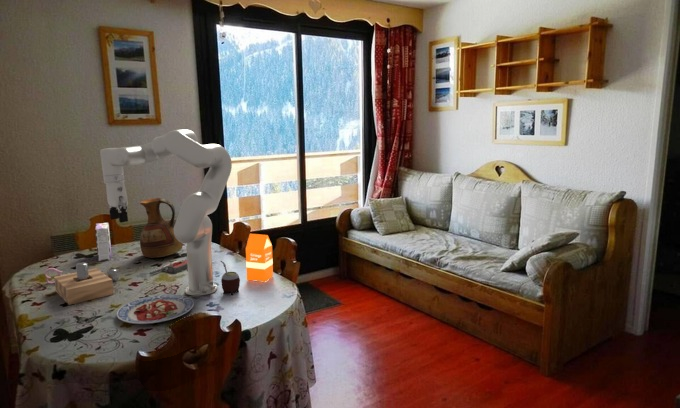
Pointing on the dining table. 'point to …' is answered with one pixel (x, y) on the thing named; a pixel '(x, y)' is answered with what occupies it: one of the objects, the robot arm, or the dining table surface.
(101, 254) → the candy box
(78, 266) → the tall pin
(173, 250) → the ceramic pitcher
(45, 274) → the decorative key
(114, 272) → the short pin
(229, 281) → the mate gourd
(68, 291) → the hole block
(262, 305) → the dining table surface
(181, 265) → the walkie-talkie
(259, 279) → the orange juice
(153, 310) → the ceramic plate
